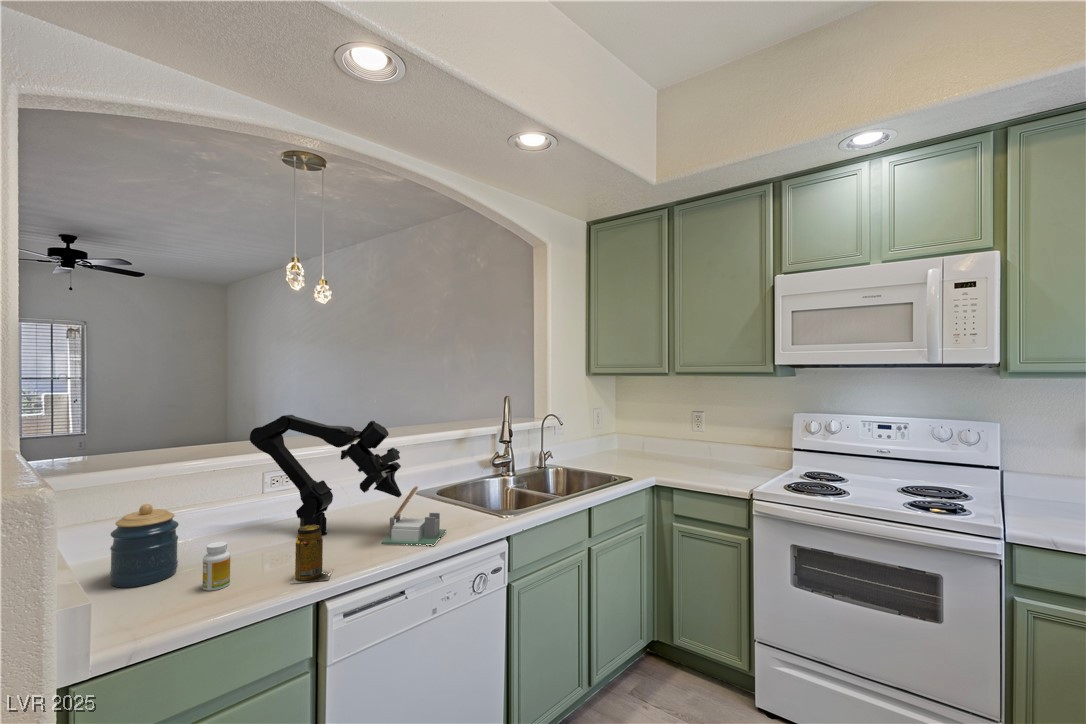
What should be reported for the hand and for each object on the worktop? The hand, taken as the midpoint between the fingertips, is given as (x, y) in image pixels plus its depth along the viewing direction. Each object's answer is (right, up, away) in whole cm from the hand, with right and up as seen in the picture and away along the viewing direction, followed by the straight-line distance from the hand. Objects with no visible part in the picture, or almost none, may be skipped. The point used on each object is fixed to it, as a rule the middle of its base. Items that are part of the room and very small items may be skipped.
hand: (400, 496), depth 152 cm
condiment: (-13, -12, -29) cm, 34 cm away
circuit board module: (+4, -12, -1) cm, 13 cm away
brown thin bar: (-2, -6, 0) cm, 7 cm away
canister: (-54, -12, -30) cm, 62 cm away
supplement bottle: (-33, -12, -35) cm, 49 cm away
